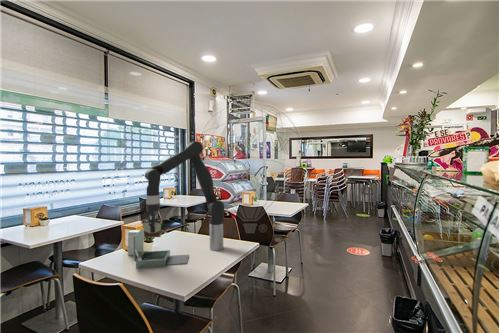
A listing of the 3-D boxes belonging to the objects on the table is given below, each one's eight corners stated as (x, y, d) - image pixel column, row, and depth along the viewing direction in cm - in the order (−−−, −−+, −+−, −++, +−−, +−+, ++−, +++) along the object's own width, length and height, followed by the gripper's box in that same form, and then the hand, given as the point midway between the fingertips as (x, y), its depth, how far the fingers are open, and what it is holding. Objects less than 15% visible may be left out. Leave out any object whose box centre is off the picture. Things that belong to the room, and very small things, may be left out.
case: (170, 256, 164) (169, 228, 164) (165, 266, 148) (165, 235, 148) (141, 258, 162) (141, 229, 162) (133, 268, 146) (133, 236, 146)
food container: (166, 233, 159) (165, 217, 158) (162, 237, 152) (161, 220, 152) (146, 233, 159) (146, 217, 159) (141, 237, 153) (141, 220, 153)
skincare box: (127, 255, 167) (127, 232, 167) (131, 252, 173) (131, 229, 173) (140, 255, 167) (140, 232, 167) (144, 252, 173) (143, 229, 173)
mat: (188, 255, 166) (188, 254, 166) (186, 264, 152) (186, 263, 152) (170, 256, 164) (170, 255, 164) (167, 265, 150) (167, 264, 150)
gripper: (157, 204, 148) (157, 234, 148) (162, 200, 162) (162, 227, 163) (143, 205, 147) (144, 235, 147) (149, 201, 161) (150, 228, 162)
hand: (153, 231), depth 155 cm, fingers closed on food container, 5 cm apart
